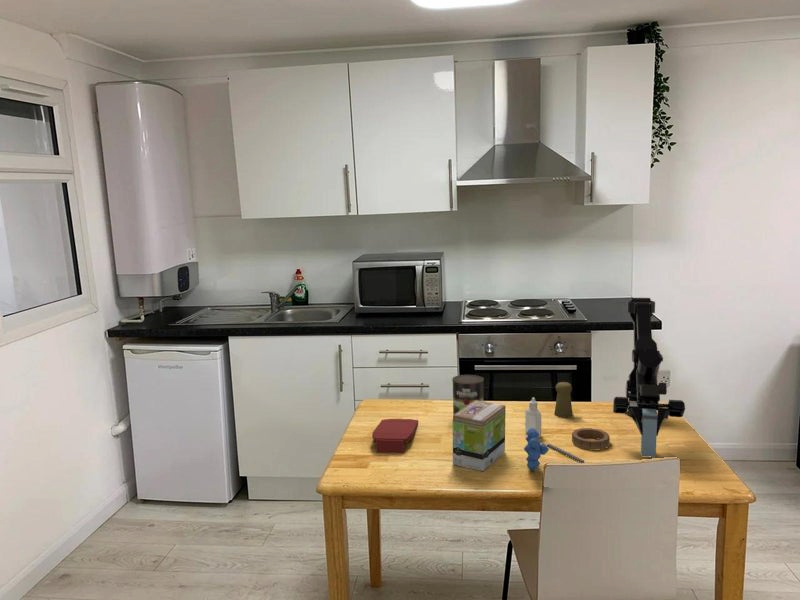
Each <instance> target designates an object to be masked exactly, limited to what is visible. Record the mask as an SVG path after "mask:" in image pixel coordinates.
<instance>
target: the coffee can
mask: <svg viewBox="0 0 800 600" xmlns="http://www.w3.org/2000/svg"><path fill="white" fill-rule="evenodd" d="M451 381H452V407H453V408H452V411H453V412H452V416H453V415H454V414H456V413H457V412H459V411H460V410H462V409H463V408H465V407H466V406H468V405H469V404H471V403H472V402H474V401H475V400H477V401H483V402H484V382H485V380H484V377H483V376H479V375H476V374H460V375H456V376H453V377H452V380H451Z"/></svg>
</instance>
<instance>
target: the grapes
mask: <svg viewBox="0 0 800 600" xmlns="http://www.w3.org/2000/svg"><path fill="white" fill-rule="evenodd" d="M525 434H526V435H527V436H526V438H525V440H526V443H527V444H526V445H525V446H524V448H523V450H524V451H525V453H526V454H527V457H526V458H525V460H526V461H527V463H526V466H527V468H529V470H531V471H535V470H537V468H538V467H539V466H540V464H541V463H540V461H539V459H540V458H541V456H543V455H546V454H547V453H548V452H549V450H550V448H549V447H547V444H544V443H541V441H540V440H539V439H538V438H540V437H539V433H538V432H537V431H536V430H535V429H534V428H531V429H529V430H528V431H527V433H526V432H525Z"/></svg>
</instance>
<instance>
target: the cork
mask: <svg viewBox="0 0 800 600" xmlns="http://www.w3.org/2000/svg"><path fill="white" fill-rule="evenodd" d="M555 390H556V392H557V393H556V400H555V406H554V407H555V408H554V416H555V417H557V418H562V419H564V418H565V419H566V418H567V419H568V418H571V417H573V416H574V414H573V407H572V406H573V405H572V399H571V392H572V390H573V387H572V384H571V383H570V382H566V381H561V382H557V384H556V385H555Z"/></svg>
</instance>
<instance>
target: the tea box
mask: <svg viewBox="0 0 800 600" xmlns="http://www.w3.org/2000/svg"><path fill="white" fill-rule="evenodd" d="M506 415H507V414H506V405H505V404H500V403H494V402H489V401H488V402H487V401H484V400H483V401H477V400H475V401H474V402H472V403H471V404H469V405H468V406H466V407H465V408H463V409H462V410H460V411H459V412H457V413H456V414H454V415H453V414H452V465H455V466H459V467H464V468H467V469H471V470H476V471H480V472H484V471H485V470H486V469H487V468H488V467H490V466H491V465H492V464H493V463H494V462H495V461H496V460H498V458H500V457H501V456H502V455H504V454H505V452H506Z"/></svg>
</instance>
